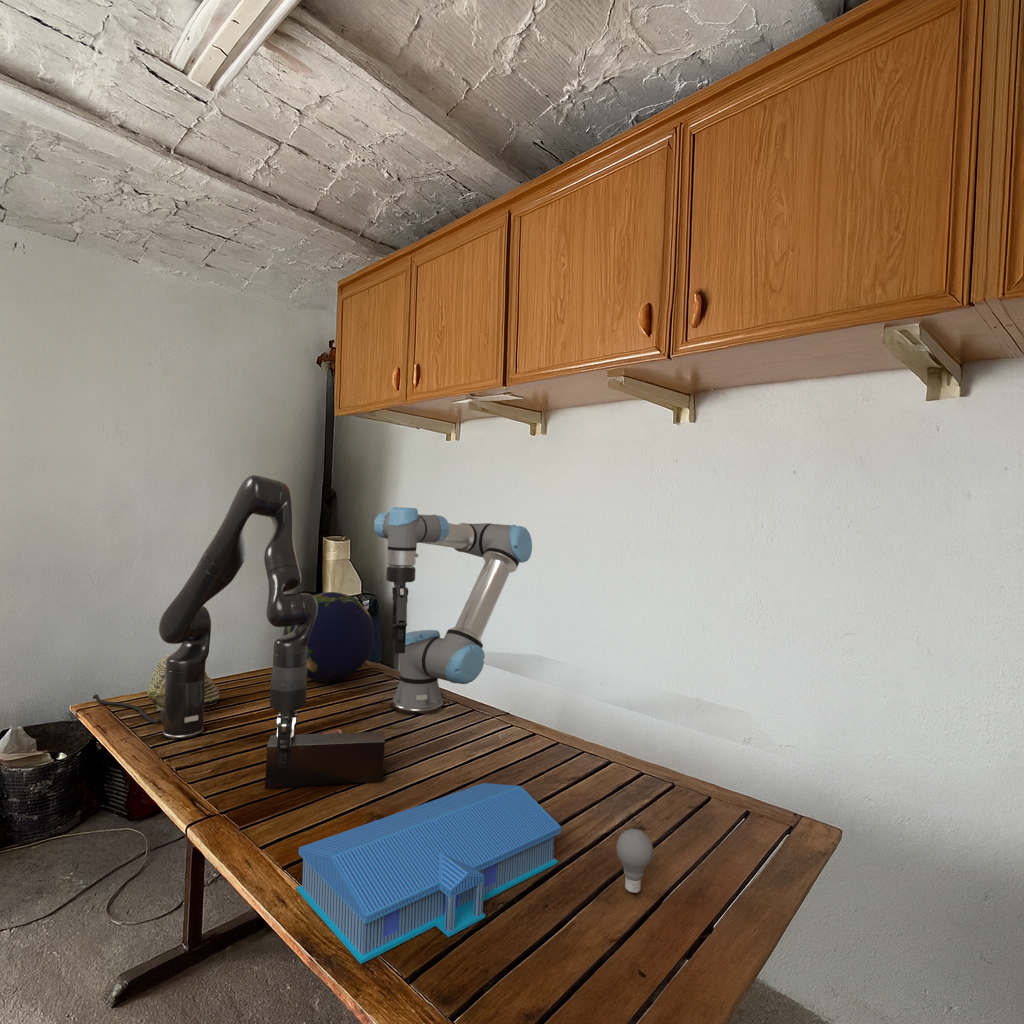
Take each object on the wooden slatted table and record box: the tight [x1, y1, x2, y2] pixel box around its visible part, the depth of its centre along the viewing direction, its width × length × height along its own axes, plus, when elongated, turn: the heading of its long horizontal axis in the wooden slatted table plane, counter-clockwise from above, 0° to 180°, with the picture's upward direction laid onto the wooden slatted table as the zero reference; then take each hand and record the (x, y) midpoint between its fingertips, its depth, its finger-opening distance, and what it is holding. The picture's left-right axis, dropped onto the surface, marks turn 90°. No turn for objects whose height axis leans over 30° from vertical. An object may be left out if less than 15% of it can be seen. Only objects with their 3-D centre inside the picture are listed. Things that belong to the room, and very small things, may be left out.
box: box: [264, 731, 386, 789], centre depth 142 cm, size 25×6×9 cm, turn 103°
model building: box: [296, 782, 562, 965], centre depth 106 cm, size 39×24×10 cm, turn 132°
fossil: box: [147, 654, 221, 712], centre depth 185 cm, size 9×18×15 cm, turn 132°
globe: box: [282, 591, 375, 683], centre depth 216 cm, size 30×30×30 cm
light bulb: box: [615, 828, 654, 894], centre depth 106 cm, size 6×6×10 cm
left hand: (285, 759), depth 140 cm, fingers closed on box, 6 cm apart
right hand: (397, 646), depth 166 cm, fingers open, 13 cm apart
